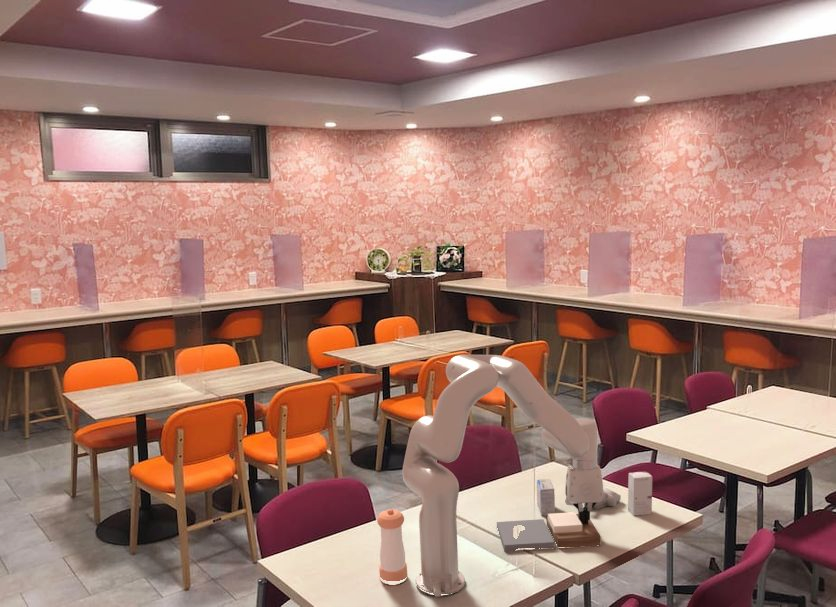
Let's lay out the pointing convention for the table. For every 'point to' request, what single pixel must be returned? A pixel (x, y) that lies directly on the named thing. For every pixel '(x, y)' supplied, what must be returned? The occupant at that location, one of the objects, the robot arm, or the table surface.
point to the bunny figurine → (608, 499)
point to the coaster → (564, 522)
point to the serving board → (577, 536)
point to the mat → (525, 535)
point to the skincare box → (640, 493)
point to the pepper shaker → (392, 546)
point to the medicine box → (545, 497)
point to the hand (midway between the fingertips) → (584, 522)
